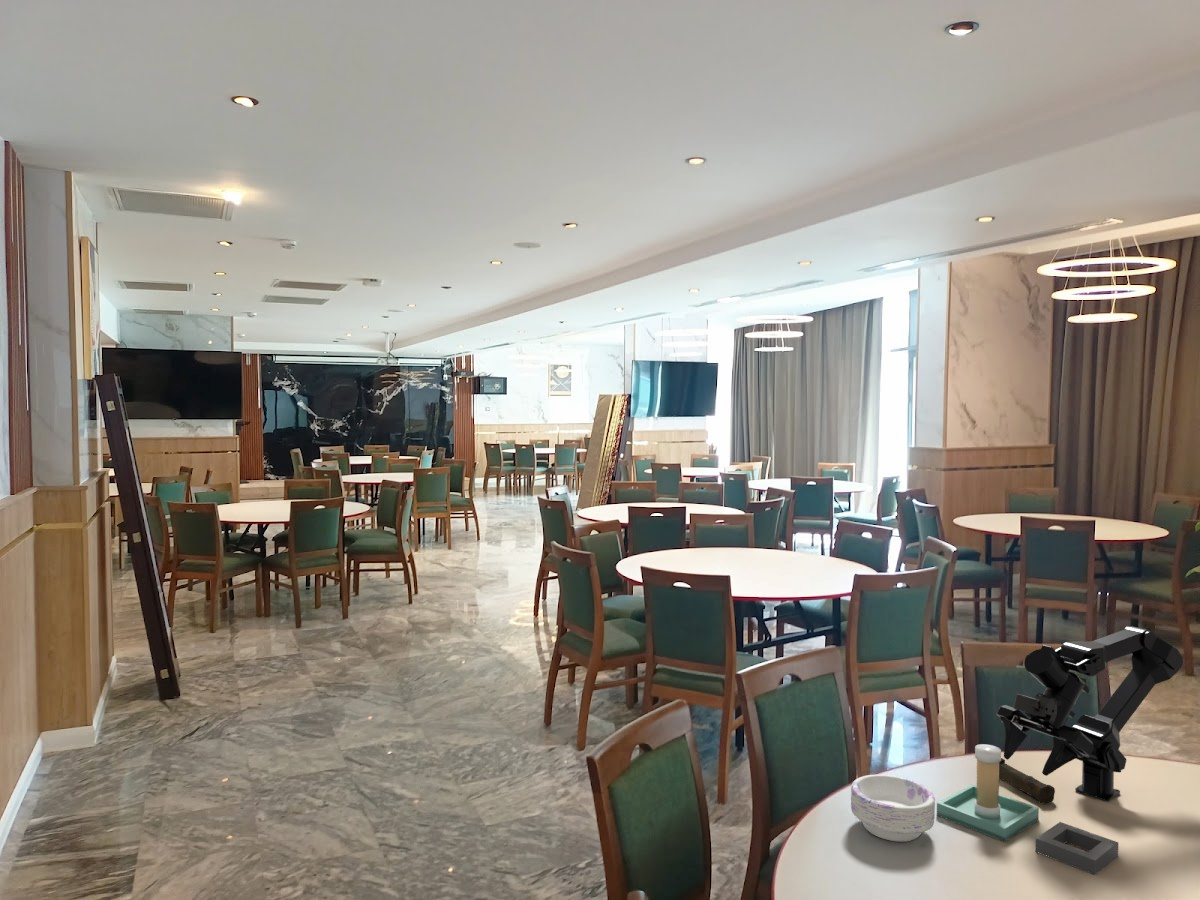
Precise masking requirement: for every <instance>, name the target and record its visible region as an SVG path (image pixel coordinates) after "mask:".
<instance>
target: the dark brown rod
mask: <svg viewBox="0 0 1200 900" xmlns="http://www.w3.org/2000/svg"><path fill="white" fill-rule="evenodd" d="M999 778H1000V779H1001V780H1002V781H1004V782H1006V783H1008V784H1009V785H1011V786H1014V787H1016V788H1017V789H1019V790H1020V791H1022V792H1024V793H1026V794H1027V795H1029V796H1030V797H1033V799H1037V800H1038V802H1039V804H1040V805H1045V804H1046V805H1047V804H1051V803H1052V802H1053V801H1054V800H1055V799H1054V798H1055V793H1056V788H1055V787H1054V786H1053V785H1051V784H1045V783H1043V782H1041V781H1039V780H1038V779H1037V778H1035V777H1034V776H1031V775H1027V774H1025V773H1024V772H1023V771H1020V770H1018V769H1017V768H1015V767H1013V766H1011V765H1009V764H1007V763H1006V759H1005V758H1004V757H1001V762H999ZM1000 779H999V780H1000Z"/></svg>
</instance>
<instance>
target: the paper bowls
mask: <svg viewBox="0 0 1200 900" xmlns="http://www.w3.org/2000/svg"><path fill="white" fill-rule="evenodd" d="M850 789H851V794H850V810H851V812H852V815H854V816H855V817H856V819H858V820H859V821H860V822H862V825H863V826H864V828H865V830H867V831H868V832H869V833H870V834H872V835H873V836H876V837H877V838H880V839H883V840H887V841H889V842H890V841H891V842H897V843H898V842H909V841H914V840H916V839H917V838H919V836H920V835H921V834H922V833H925V832H927V831H929V830H931V829H932V828H933V827H934V824H935V815H936V814H935V810H936V809H935V808H936V798H935V795H934V793H933V792H932V791H931V790H930V789H929V788H927V787H926V786H925V785H923V784H921V783H919V782H917V781H914V780H911V779H908V778H905V777H901V776H897V775H896V776H895V775H891V774H889V775H888V774H868V775H867V774H866V775H863V776H860V777H858V778H855V780H854V781H852V783H851V787H850Z"/></svg>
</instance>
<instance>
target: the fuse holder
mask: <svg viewBox="0 0 1200 900" xmlns="http://www.w3.org/2000/svg"><path fill="white" fill-rule="evenodd" d="M1064 843H1065V844H1064ZM1066 843H1067V844H1066ZM1069 844H1070V845H1069ZM1072 845H1073V846H1072ZM1074 846H1075V847H1074ZM1077 847H1078V848H1077ZM1085 850H1086V851H1085ZM1038 852H1039V854H1040V853H1041V854H1040V855H1043V854H1044V855H1043V856H1045V855H1047V856H1046V857H1048V856H1049V857H1048V858H1050V857H1051V858H1050V859H1054V860H1055V859H1056V861H1059V862H1061V863H1064V864H1066V865H1068V866H1071V867H1074V868H1076V869H1079V870H1082V871H1083V872H1087V873H1089V874H1092V875H1093V876H1094V875H1097V874H1098V873H1099V872H1100V871H1102V870H1103V869H1105V867H1107V866H1108V865H1109V864H1110V863H1111V862H1114V860H1115V859H1116V858H1118V857H1119V842H1118V841H1117V840H1112V839H1109V838H1106V837H1104V836H1102V835H1099V834H1096V833H1092V832H1090V831H1087V830H1084V829H1082V828H1080V827H1075V826H1073V825H1071V824H1068V823H1064V822H1062V821H1059V822H1057V823H1056V824H1055V825H1053V826H1052V827H1050V828H1049V829H1047V830H1046V831H1044V832H1043V833H1041V834H1039V835H1038V836H1037V837H1035V853H1038Z"/></svg>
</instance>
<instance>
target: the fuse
mask: <svg viewBox="0 0 1200 900" xmlns="http://www.w3.org/2000/svg"><path fill="white" fill-rule="evenodd" d="M974 752H975V754H974V758H975V759H976V786H977V787H976V800H975V813H976V814H977V815H978V816H980V817H983V818H987V819H997V818H999V817H1000V804H999V794H1000V779H999V762H1001V758H1002V750H1001V748H1000V747H997V746H995V745H993V744H983V743H981V744H977V745H975V746H974Z"/></svg>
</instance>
